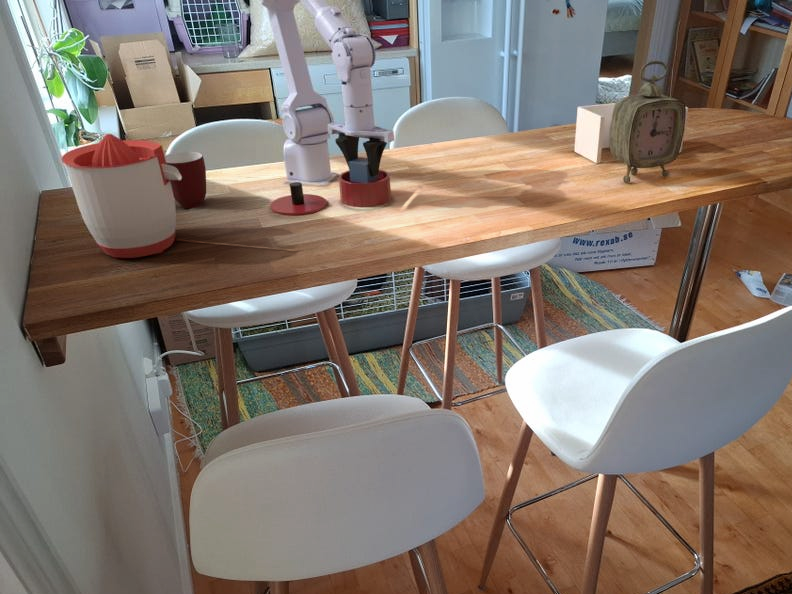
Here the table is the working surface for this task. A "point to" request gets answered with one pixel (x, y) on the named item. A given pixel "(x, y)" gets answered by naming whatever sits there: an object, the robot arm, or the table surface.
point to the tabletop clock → (647, 127)
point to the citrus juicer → (125, 195)
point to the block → (361, 171)
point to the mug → (188, 178)
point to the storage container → (596, 130)
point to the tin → (365, 191)
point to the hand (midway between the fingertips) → (364, 173)
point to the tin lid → (298, 202)
